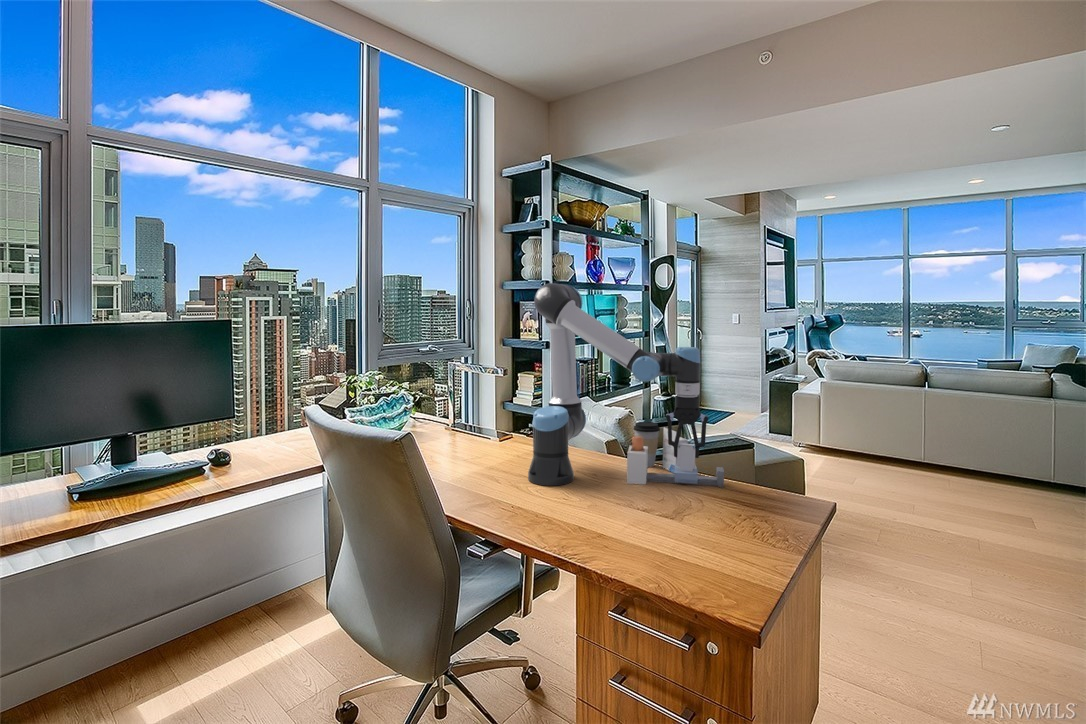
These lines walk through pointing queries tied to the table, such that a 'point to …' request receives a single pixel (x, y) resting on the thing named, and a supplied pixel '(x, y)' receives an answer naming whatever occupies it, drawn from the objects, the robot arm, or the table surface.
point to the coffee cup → (648, 438)
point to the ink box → (670, 450)
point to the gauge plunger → (637, 443)
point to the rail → (701, 480)
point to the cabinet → (637, 465)
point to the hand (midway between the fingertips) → (685, 466)
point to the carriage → (686, 466)
